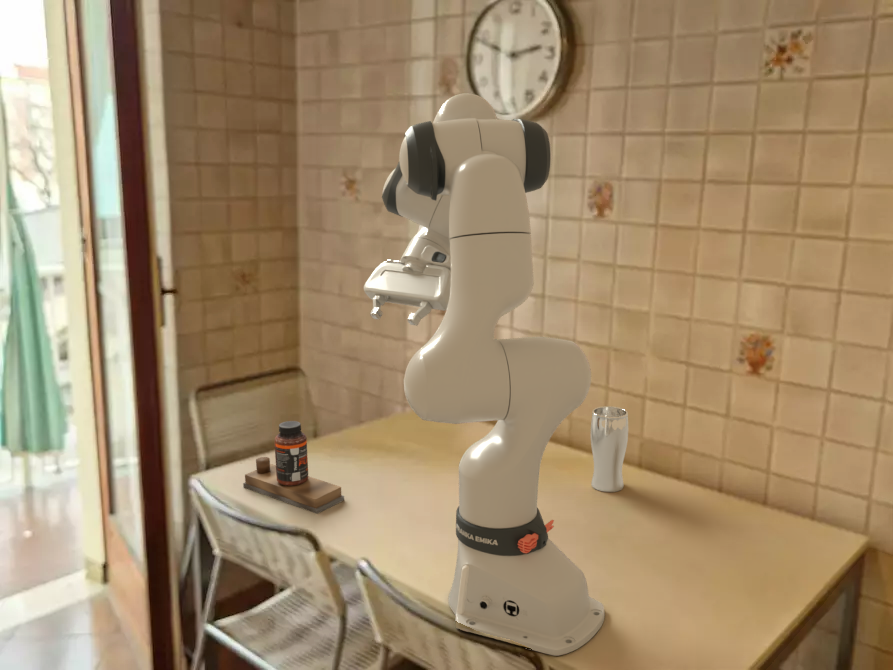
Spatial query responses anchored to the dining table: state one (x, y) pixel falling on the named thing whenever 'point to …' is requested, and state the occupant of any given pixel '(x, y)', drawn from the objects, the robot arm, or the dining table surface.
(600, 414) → the beer glass
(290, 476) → the supplement bottle
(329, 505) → the body
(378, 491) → the dining table surface
